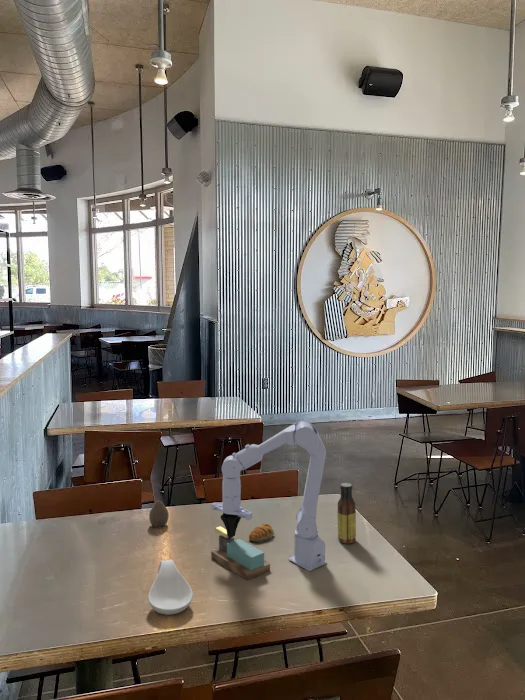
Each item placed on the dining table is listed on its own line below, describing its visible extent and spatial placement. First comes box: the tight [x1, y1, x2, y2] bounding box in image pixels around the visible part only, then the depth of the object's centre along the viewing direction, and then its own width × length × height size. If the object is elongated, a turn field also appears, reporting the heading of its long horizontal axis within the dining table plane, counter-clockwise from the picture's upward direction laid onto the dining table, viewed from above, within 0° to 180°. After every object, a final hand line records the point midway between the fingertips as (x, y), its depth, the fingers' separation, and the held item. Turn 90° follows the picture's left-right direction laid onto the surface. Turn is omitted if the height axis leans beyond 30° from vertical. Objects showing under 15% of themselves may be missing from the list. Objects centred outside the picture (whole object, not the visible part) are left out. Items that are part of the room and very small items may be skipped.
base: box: [210, 535, 271, 581], centre depth 163 cm, size 18×9×6 cm, turn 41°
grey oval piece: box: [148, 500, 170, 528], centre depth 190 cm, size 7×7×9 cm
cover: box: [227, 538, 265, 571], centre depth 161 cm, size 12×5×4 cm, turn 41°
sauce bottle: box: [336, 482, 357, 545], centre depth 179 cm, size 7×6×20 cm
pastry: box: [248, 523, 275, 543], centre depth 181 cm, size 9×7×4 cm
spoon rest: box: [147, 559, 194, 615], centre depth 144 cm, size 24×12×7 cm, turn 16°
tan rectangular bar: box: [214, 525, 230, 539], centre depth 169 cm, size 6×2×2 cm, turn 41°
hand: (231, 536), depth 166 cm, fingers closed
